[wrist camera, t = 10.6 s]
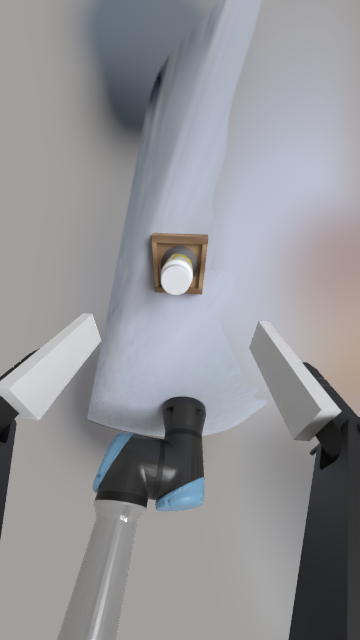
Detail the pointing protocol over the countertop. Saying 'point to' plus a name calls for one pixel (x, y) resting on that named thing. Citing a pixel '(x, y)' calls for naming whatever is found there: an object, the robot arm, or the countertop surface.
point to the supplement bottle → (177, 274)
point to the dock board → (184, 244)
